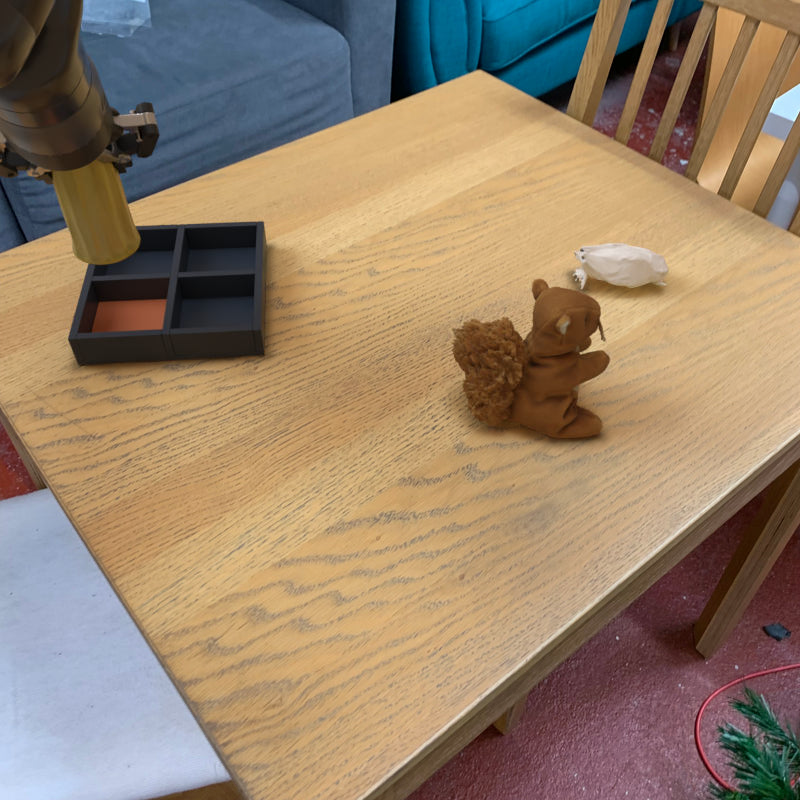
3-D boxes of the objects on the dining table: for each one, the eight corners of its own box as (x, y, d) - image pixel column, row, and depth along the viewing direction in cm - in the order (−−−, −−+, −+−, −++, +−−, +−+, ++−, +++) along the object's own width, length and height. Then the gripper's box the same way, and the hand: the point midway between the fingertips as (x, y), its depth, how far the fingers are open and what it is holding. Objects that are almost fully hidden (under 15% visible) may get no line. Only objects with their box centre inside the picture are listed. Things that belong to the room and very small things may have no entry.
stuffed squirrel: (608, 437, 72) (645, 333, 62) (461, 452, 70) (475, 348, 60) (576, 362, 78) (604, 258, 68) (440, 375, 76) (450, 269, 67)
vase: (134, 221, 74) (94, 76, 64) (147, 257, 71) (107, 109, 60) (69, 235, 73) (17, 88, 62) (78, 272, 69) (25, 123, 58)
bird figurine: (588, 313, 85) (675, 286, 85) (582, 260, 81) (673, 232, 81) (573, 291, 89) (656, 266, 89) (567, 240, 85) (654, 213, 85)
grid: (78, 365, 76) (67, 339, 73) (106, 253, 88) (98, 227, 86) (264, 355, 78) (260, 329, 75) (267, 246, 90) (263, 220, 87)
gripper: (142, 28, 52) (157, 113, 69) (-87, 53, 49) (-14, 137, 65) (168, 137, 53) (177, 196, 69) (-57, 170, 50) (8, 223, 66)
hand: (84, 167), depth 67 cm, fingers closed on vase, 5 cm apart
